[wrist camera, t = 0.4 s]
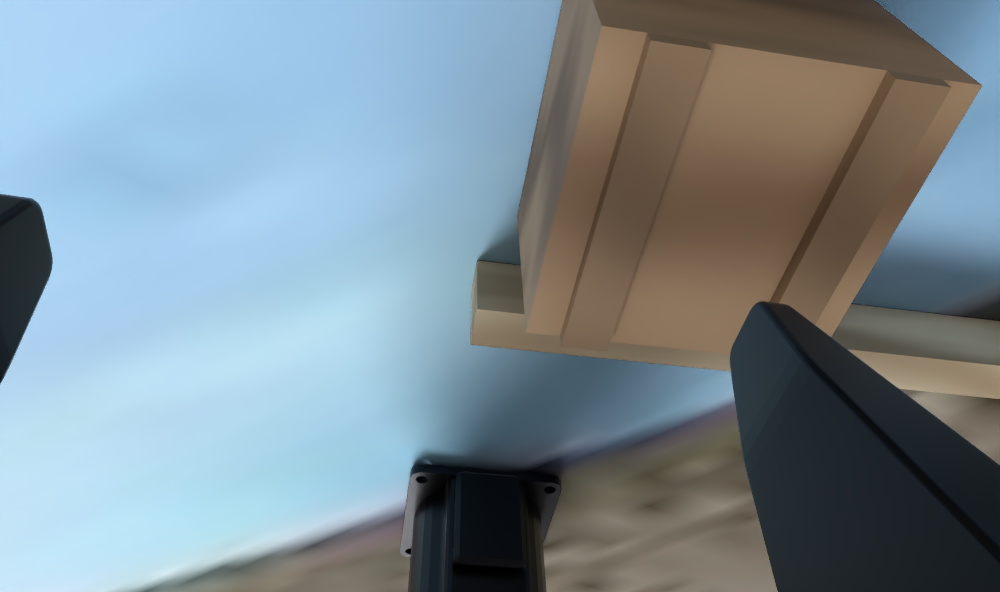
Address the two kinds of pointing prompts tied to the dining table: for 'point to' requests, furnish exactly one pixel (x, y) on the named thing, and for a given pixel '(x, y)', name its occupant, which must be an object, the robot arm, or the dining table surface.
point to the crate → (722, 164)
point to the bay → (863, 331)
